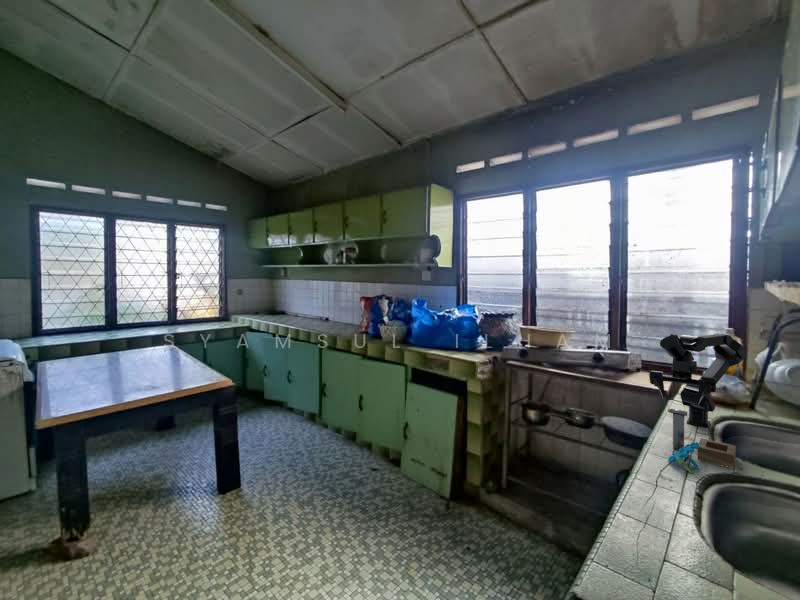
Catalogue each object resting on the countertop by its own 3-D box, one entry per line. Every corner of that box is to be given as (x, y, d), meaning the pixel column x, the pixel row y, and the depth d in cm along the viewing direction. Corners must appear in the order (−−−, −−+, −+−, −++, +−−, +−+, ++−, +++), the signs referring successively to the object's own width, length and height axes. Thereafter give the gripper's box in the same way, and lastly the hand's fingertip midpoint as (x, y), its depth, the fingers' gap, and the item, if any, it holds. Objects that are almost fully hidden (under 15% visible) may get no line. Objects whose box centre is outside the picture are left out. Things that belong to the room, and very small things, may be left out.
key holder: (700, 449, 119) (700, 437, 118) (735, 458, 113) (735, 445, 112) (697, 459, 113) (697, 446, 112) (733, 468, 107) (734, 455, 106)
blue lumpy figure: (672, 448, 117) (699, 435, 110) (689, 465, 114) (717, 453, 107) (660, 464, 110) (687, 451, 104) (677, 482, 108) (706, 470, 101)
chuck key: (668, 445, 123) (668, 407, 122) (687, 449, 119) (687, 410, 118) (666, 448, 120) (666, 409, 120) (686, 453, 117) (686, 413, 116)
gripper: (649, 349, 134) (646, 385, 127) (716, 354, 122) (716, 395, 114) (652, 365, 141) (648, 401, 133) (715, 372, 129) (715, 411, 121)
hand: (680, 401), depth 125 cm, fingers open, 9 cm apart
